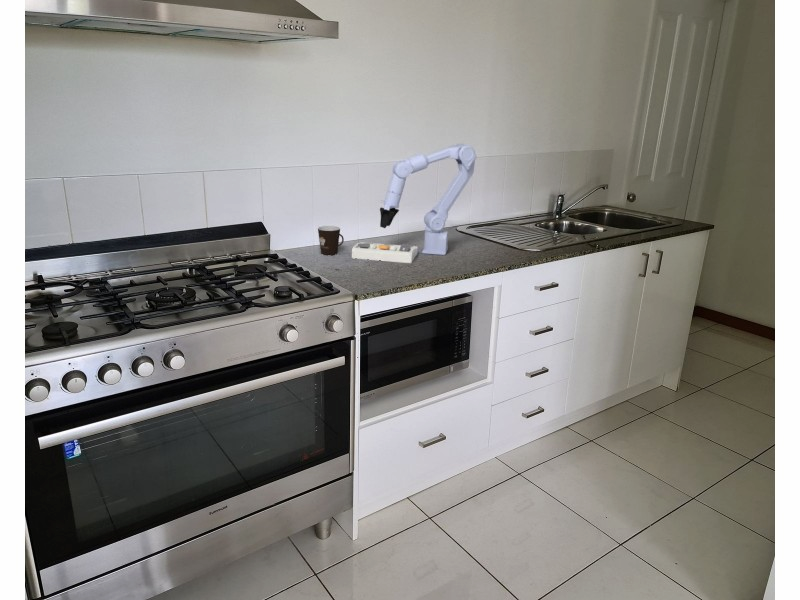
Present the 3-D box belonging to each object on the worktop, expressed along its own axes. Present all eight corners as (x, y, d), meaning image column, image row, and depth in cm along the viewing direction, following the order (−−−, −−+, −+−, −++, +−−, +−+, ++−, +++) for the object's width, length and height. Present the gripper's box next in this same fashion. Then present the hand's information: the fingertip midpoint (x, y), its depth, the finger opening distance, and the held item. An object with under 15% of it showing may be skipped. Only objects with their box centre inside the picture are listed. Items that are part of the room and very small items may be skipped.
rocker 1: (369, 248, 224) (369, 243, 224) (365, 248, 218) (366, 244, 218) (361, 247, 224) (361, 243, 224) (357, 247, 219) (357, 243, 218)
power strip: (417, 253, 228) (417, 244, 227) (411, 263, 215) (411, 252, 214) (361, 249, 232) (361, 239, 231) (351, 258, 219) (351, 248, 218)
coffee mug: (315, 251, 227) (315, 226, 223) (336, 249, 230) (336, 225, 227) (323, 259, 217) (323, 233, 213) (345, 257, 220) (345, 231, 217)
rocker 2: (410, 247, 221) (410, 243, 220) (407, 254, 216) (407, 250, 215) (402, 247, 222) (402, 243, 221) (399, 254, 217) (398, 250, 216)
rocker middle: (389, 249, 223) (389, 245, 222) (386, 250, 217) (386, 245, 217) (381, 248, 223) (381, 244, 223) (378, 249, 217) (378, 245, 217)
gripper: (388, 188, 228) (379, 221, 231) (380, 190, 214) (371, 225, 217) (405, 194, 227) (395, 226, 231) (398, 195, 213) (388, 230, 217)
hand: (384, 226), depth 224 cm, fingers open, 7 cm apart
